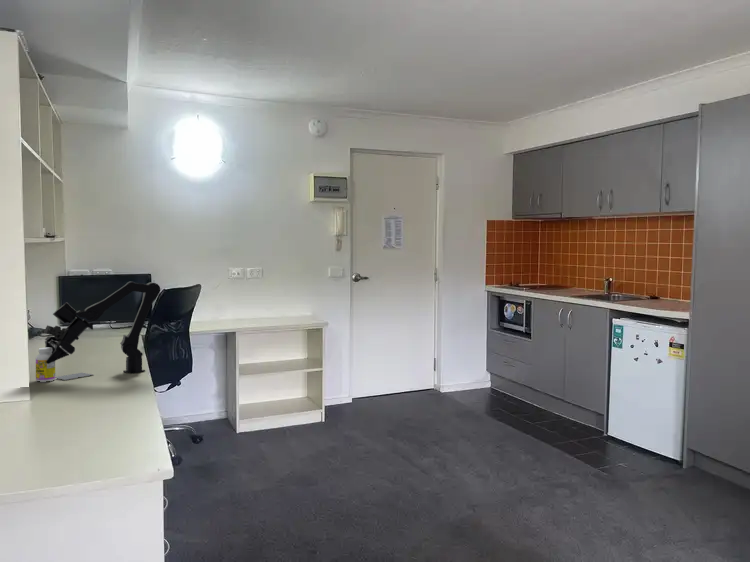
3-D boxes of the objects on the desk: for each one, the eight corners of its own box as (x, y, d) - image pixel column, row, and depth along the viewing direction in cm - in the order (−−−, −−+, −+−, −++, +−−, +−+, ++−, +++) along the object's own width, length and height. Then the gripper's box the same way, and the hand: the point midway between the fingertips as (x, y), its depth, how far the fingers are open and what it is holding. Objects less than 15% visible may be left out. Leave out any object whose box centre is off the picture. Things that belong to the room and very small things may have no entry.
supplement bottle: (32, 381, 218) (31, 348, 217) (48, 378, 224) (48, 346, 223) (42, 383, 215) (42, 350, 214) (59, 380, 220) (58, 347, 220)
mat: (93, 375, 230) (93, 374, 230) (64, 380, 219) (64, 379, 219) (81, 373, 234) (81, 372, 234) (53, 378, 223) (53, 377, 223)
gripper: (50, 316, 228) (19, 345, 220) (66, 319, 215) (33, 351, 207) (71, 333, 234) (42, 363, 226) (87, 338, 221) (57, 369, 213)
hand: (43, 361), depth 218 cm, fingers open, 9 cm apart
